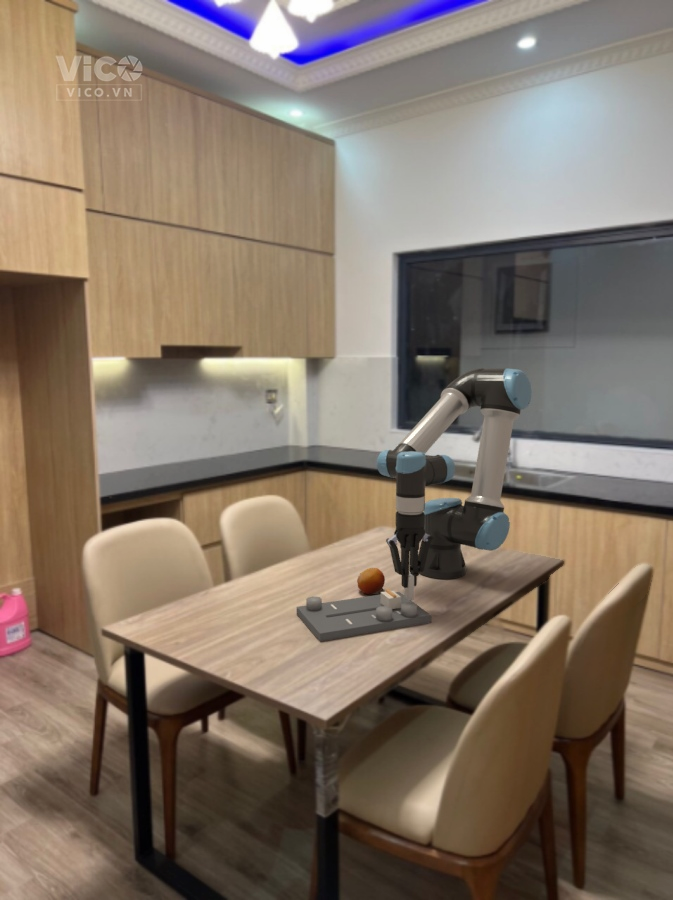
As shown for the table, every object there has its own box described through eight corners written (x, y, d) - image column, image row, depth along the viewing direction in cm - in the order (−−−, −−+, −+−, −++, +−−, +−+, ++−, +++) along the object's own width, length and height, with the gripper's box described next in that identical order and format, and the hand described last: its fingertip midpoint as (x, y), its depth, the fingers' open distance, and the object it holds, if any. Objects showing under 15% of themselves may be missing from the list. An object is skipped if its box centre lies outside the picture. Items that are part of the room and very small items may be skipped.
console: (398, 598, 181) (399, 583, 180) (431, 622, 164) (431, 606, 163) (296, 614, 170) (296, 598, 169) (319, 641, 153) (319, 623, 153)
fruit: (389, 593, 181) (374, 568, 181) (365, 605, 183) (351, 581, 183) (392, 583, 189) (378, 560, 189) (369, 595, 191) (356, 572, 191)
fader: (392, 601, 172) (392, 588, 172) (401, 607, 168) (401, 594, 167) (380, 603, 171) (380, 589, 171) (388, 609, 166) (389, 596, 166)
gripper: (425, 506, 174) (423, 590, 177) (381, 510, 169) (380, 597, 172) (439, 512, 167) (437, 599, 170) (394, 516, 162) (393, 606, 165)
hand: (408, 598), depth 171 cm, fingers closed
